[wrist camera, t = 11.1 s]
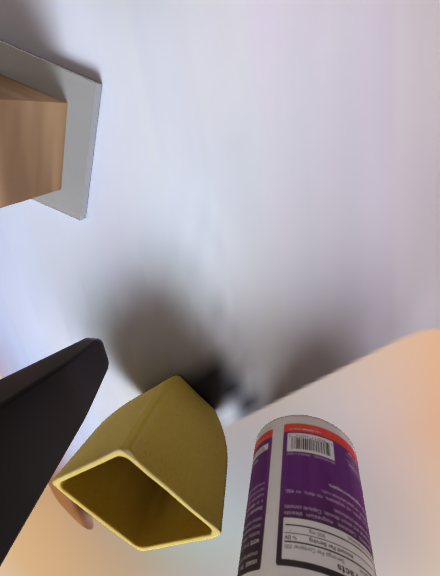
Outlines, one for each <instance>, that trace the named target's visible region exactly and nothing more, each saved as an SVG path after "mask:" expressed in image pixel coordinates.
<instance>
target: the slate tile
mask: <svg viewBox="0 0 440 576" xmlns="http://www.w3.org/2000/svg"><path fill="white" fill-rule="evenodd" d="M0 74H2V75H4V76H6V77H9V78H11V79H13V80H16V81H18V82H20V83H22V84H25V85H27V86H29V87H32V88H34V89H36V90H39V91H41V92H43V93H46V94H48V95H50V96H52V97H55V98H57V99H59V100H62V101H64V102H66V103H68V105H67V119H66V132H65V145H64V159H63V172H62V185H61V190H58V191H54V192H51V193H48V194H44V195H41V196H38V197H35V198H31V199H33V200H35V201H37V202H40V203H42V204H44V205H46V206H49V207H51V208H53V209H56V210H58V211H60V212H62V213H65V214H67V215H69V216H71V217H74V218H76V219H78V220H82V219H84V218H86V211H87V203H88V195H89V187H90V178H91V170H92V162H93V154H94V146H95V138H96V130H97V122H98V114H99V106H100V98H101V90H102V84H100V83H98V82H95V81H93V80H91V79H89V78H86V77H84V76H82V75H79V74H77V73H75V72H72V71H70V70H68V69H65V68H63V67H61V66H58V65H56V64H54V63H51V62H49V61H47V60H44V59H42V58H40V57H38V56H35V55H33V54H31V53H28V52H26V51H24V50H21V49H19V48H17V47H14V46H12V45H10V44H7V43H5V42H3V41H0Z"/></svg>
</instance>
